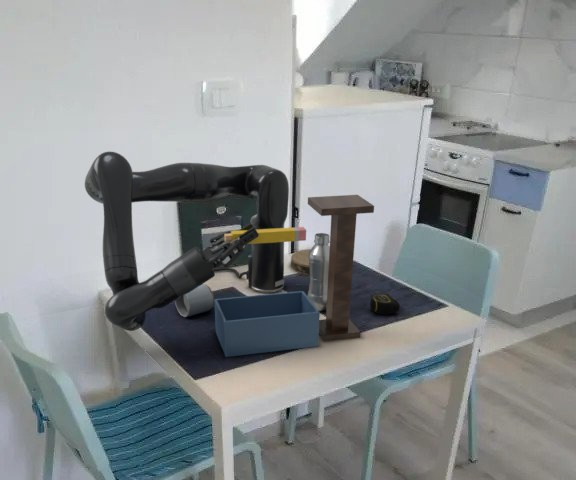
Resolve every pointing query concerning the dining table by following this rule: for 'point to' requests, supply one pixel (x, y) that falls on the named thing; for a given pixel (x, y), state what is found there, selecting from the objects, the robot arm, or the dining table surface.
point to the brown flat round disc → (301, 262)
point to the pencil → (272, 235)
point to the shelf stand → (340, 261)
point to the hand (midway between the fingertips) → (254, 229)
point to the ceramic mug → (195, 301)
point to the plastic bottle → (319, 271)
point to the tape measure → (384, 304)
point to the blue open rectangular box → (266, 323)
